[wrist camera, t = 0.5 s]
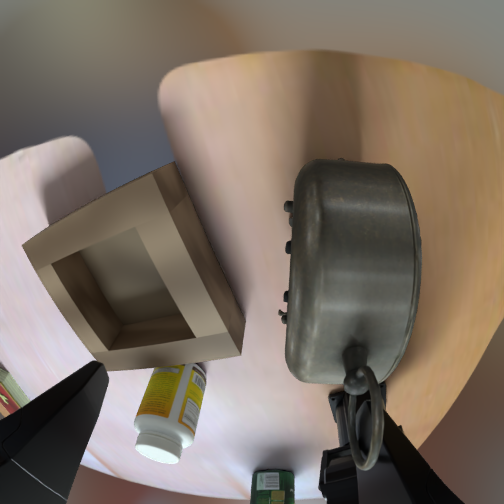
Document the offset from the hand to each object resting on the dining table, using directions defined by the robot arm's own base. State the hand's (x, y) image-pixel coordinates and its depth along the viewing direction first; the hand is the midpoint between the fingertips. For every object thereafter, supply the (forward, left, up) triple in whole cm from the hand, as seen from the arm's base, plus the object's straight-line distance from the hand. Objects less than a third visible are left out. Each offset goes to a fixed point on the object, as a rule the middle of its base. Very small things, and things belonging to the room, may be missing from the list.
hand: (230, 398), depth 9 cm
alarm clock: (-1, -5, -14) cm, 14 cm away
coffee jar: (-46, +12, -14) cm, 50 cm away
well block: (0, +10, -14) cm, 17 cm away
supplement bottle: (-12, +12, -14) cm, 22 cm away
